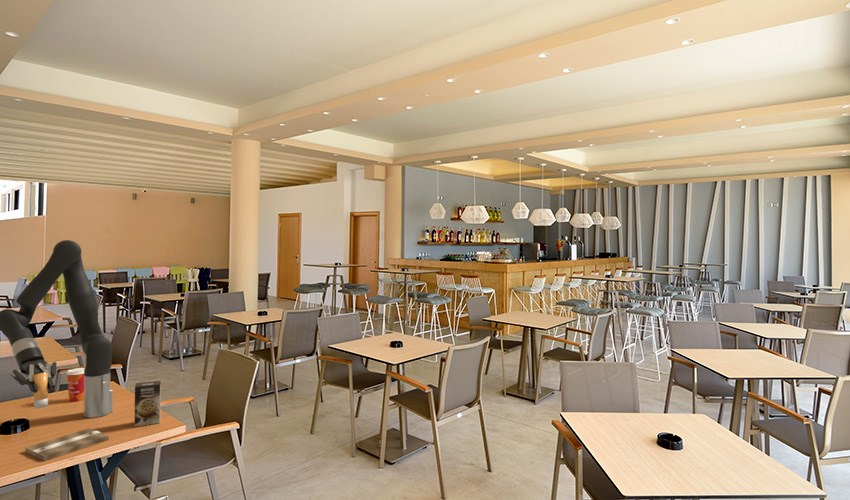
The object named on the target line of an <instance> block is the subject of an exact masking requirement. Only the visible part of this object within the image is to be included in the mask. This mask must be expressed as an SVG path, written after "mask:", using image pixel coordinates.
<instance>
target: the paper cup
mask: <svg viewBox="0 0 850 500" xmlns="http://www.w3.org/2000/svg"><path fill="white" fill-rule="evenodd" d="M84 369H85V368H84V367H79V368H78V367H77V368H72V369H68V370H67V372H66V378H67V391H68V400H69V401H68V402H70V403H71V402H72V403H73V402H74V403H76V402H81V401H83V400H84Z"/></svg>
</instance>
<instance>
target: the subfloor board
mask: <svg viewBox="0 0 850 500" xmlns="http://www.w3.org/2000/svg"><path fill="white" fill-rule="evenodd" d="M106 441H109V435H108V434H105V433H102V432H101V431H99V430H94V429H92V428H90V427H89V428H86V429H82V430H79V431H76V432H73V433H69V434H65V435H63V436H60V437H56V438H52V439H50V440H46V441H43V442H39V443H36V444H33V445H30V446H27V447H25V450H24V452H25V453H27V454H29V455H31V456H32V457H35V458H37V459H39V460H41V461H44V462H47V461H49V460H52V459H55V458H59V457H61V456H64V455H68V454H70V453H73V452H76V451H79V450H82V449H85V448H87V447H91V446H94V445H96V444H100V443H103V442H106Z"/></svg>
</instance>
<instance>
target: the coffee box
mask: <svg viewBox="0 0 850 500" xmlns="http://www.w3.org/2000/svg"><path fill="white" fill-rule="evenodd" d="M161 384H162V382H161V380H155V381H152V380H151V381H143V382H135V386H134V424H133V425H134V427H135V428H137V427H143V425H144V426H149V424H151V425H156V424H155V423H158V424H160V423H161V399H162V398H161V396H162V395H161V393H162V391H161V386H162V385H161Z"/></svg>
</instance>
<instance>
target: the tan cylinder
mask: <svg viewBox="0 0 850 500" xmlns="http://www.w3.org/2000/svg"><path fill="white" fill-rule="evenodd" d="M33 381H34V382H35V384H36V386H37V388H38V390H37V392H36V393H33V408H34V409H43V408H46V407H48V406H49V389H48V374H47V373H37V374H34V375H33Z"/></svg>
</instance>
